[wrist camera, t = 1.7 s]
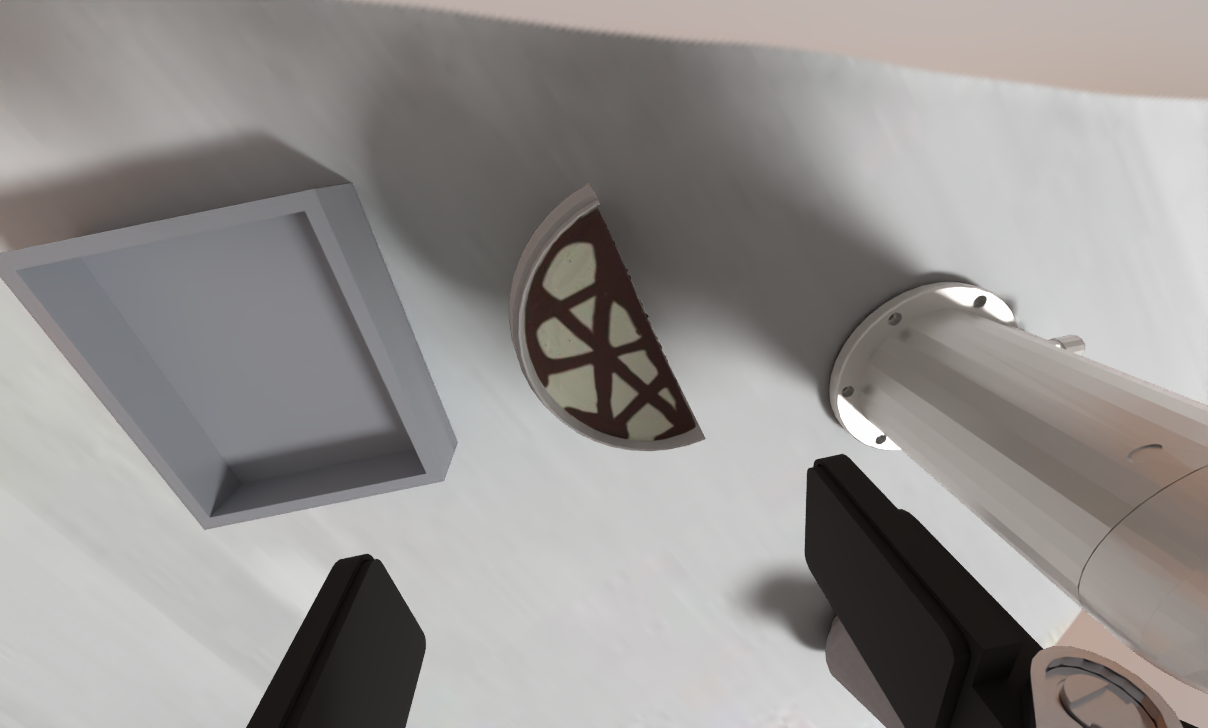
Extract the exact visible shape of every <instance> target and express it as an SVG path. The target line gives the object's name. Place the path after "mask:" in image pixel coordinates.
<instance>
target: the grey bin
mask: <svg viewBox="0 0 1208 728" xmlns="http://www.w3.org/2000/svg"><path fill="white" fill-rule="evenodd" d="M0 277H1V278H2V280H3V281H4V282H5V283H6V285H7V286H8V287H9V288H10V290H11V291H12V292H13V293H14V295H15V296H16V297H17V298H18V300H19V301H20V302H21V303H22V304H23V306H24V307H25V308H26V309H27V311H28V312H29V313H30V314H31V316H32V317H33V318H34V319H35V321H36V322H37V323H38V324H39V326H40V327H41V328H42V329H43V330H44V332H45V333H46V334H47V335H48V337H49V338H50V339H51V340H52V342H53V343H54V344H55V345H56V347H57V348H58V349H59V350H60V352H61V353H62V354H63V355H64V356H65V358H66V359H67V360H68V361H69V363H70V364H71V365H72V366H73V368H74V369H75V370H76V371H77V373H78V374H79V375H80V376H81V378H82V379H83V380H84V381H85V382H86V384H87V385H88V386H89V387H90V389H91V390H92V391H93V392H94V394H95V395H96V396H97V397H98V399H99V400H100V401H101V402H102V404H103V405H104V406H105V407H106V408H107V410H108V411H109V412H110V413H111V415H112V416H113V417H114V418H115V420H116V421H117V422H118V423H119V425H120V426H121V427H122V428H123V430H124V431H125V432H126V433H127V434H128V436H129V437H130V438H131V439H132V441H133V442H134V443H135V444H136V446H137V447H138V448H139V449H140V451H141V452H142V453H143V454H144V455H145V457H146V458H147V459H148V460H149V462H150V463H151V464H152V465H153V467H154V468H155V469H156V470H157V472H158V473H159V474H160V475H161V477H162V478H163V479H164V480H165V481H166V483H167V484H168V485H169V486H170V488H171V489H172V490H173V491H174V493H175V494H176V495H177V496H178V498H179V499H180V500H181V501H182V503H183V504H184V505H185V506H186V507H187V509H188V510H189V511H190V512H191V514H192V515H193V516H194V517H195V519H196V520H197V521H198V522H199V524H200V525H201V526H202V527H203V529H204V530H206V529H211V528H216V527H221V526H226V525H230V524H235V523H240V522H245V521H250V520H255V519H260V518H265V517H270V516H275V515H280V514H285V513H289V512H294V511H299V510H304V509H309V508H314V507H319V506H324V505H329V504H334V503H339V502H344V501H348V500H353V499H358V498H363V497H368V496H373V495H378V494H383V493H388V492H393V491H398V490H403V489H407V488H412V487H417V486H422V485H427V484H432V483H437V482H442V481H444V479H445V477H446V474H447V471H448V468H449V465H450V463H451V460H452V457H453V454H454V451H455V449H456V446H457V443H458V442H457V440H456V437H455V435H454V432H453V430H452V427H451V425H450V422H449V420H448V418H447V415H446V413H445V410H444V408H443V405H442V403H441V400H440V398H439V395H438V393H437V390H436V388H435V386H434V383H433V381H432V378H431V376H430V373H429V371H428V368H427V366H426V363H425V361H424V358H423V356H422V354H421V351H420V349H419V346H418V344H417V341H416V339H415V336H414V334H413V331H412V329H411V326H410V324H409V322H408V319H407V317H406V314H405V312H404V309H403V307H402V304H401V302H400V299H399V297H398V294H397V292H396V290H395V287H394V285H393V282H392V280H391V277H390V275H389V272H388V270H387V267H386V265H385V262H384V260H383V258H382V255H381V253H380V250H379V248H378V245H377V243H376V240H375V238H374V235H373V233H372V230H371V228H370V226H369V223H368V221H367V218H366V216H365V213H364V211H363V208H362V206H361V203H360V201H359V198H358V196H357V194H356V191H355V189H354V186H353V184H352V183H348V184H342V185H335V186H329V187H322V188H316V189H310V190H305V191H301V192H296V193H291V194H286V195H281V196H276V197H271V198H266V199H262V200H257V201H252V202H247V203H242V204H237V205H232V206H227V207H222V208H218V209H213V210H208V211H203V212H198V213H193V214H188V215H183V216H179V217H174V218H169V219H164V220H159V221H154V222H149V223H144V224H139V225H135V226H130V227H125V228H120V229H115V230H110V231H105V232H100V233H96V234H91V235H86V236H81V237H76V238H71V239H66V240H61V241H56V242H52V243H47V244H42V245H37V246H32V247H27V248H22V249H17V250H13V251H8V252H3V253H0Z"/></svg>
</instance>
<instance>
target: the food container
mask: <svg viewBox="0 0 1208 728" xmlns="http://www.w3.org/2000/svg"><path fill="white" fill-rule="evenodd" d="M599 204H600V201H599V200H598V198H597V196H596V194H595V192H594V190H593V188H592V186H591V184H590V183H588V184H586V185H585V186H583V187H582V188H580V189H579V190H577V191H576V192H574V193H572V194H571V195H569V196H568V197H567V198H566V199H565V200H564V201H562V202H561V203H560V204H559V205H558V206H557V207H556V208H554V209H553V210H552V211H551V212H550V213H549V214H548V215H547V217H546V218H545V219H544V220H543V222H542V223H541V224H540V225H539V226H538V228H537V229H536V230H535V231H534V233H533V235H532V236H531V238H530V240H529V242H528V243H527V245H526V247H525V249H524V250H523V252H522V254H521V257H520V260H519V262H518V265H517V268H516V270H515V273H514V276H513V281H512V287H511V292H510V297H509V323H510V329H511V336H512V341H513V344H514V347H515V351H516V354H517V357H518V360H519V363H520V366H521V369H522V372H523V374H524V376H525V377H526V379H527V381H528V383H529V385H530V387H531V389H532V390H533V392H534V393H535V394H536V396H537V397H538V398H539V400H540V401H541V402H542V403H543V405H544V406H545V407H546V408H548V409H549V410H550V411H551V412H552V413H553V414H554V415H555V416H556V417H557V418H558V419H559V420H560V421H562V422H563V423H564V424H566V425H567V426H568V427H570V428H571V429H573V430H574V431H576V432H577V433H579V434H581V435H583V436H585V437H587V438H589V439H591V440H593V441H596V442H599V443H602V444H605V445H608V446H611V447H616V448H621V449H627V450H638V451H656V450H667V449H673V448H677V447H682V446H686V445H690V444H693V443H696V442H699V441H701V440H704V439H705V437H704V435H703V433H702V431H701V429H700V427H699V424H698V422H697V420H696V418H695V416H694V414H693V412H692V410H691V408H690V406H689V404H688V402H687V400H686V398H685V396H684V394H683V392H682V390H681V388H680V386H679V384H678V382H677V380H676V378H675V376H674V374H673V372H672V370H671V368H670V366H669V364H668V360H667V359H666V356H665V355H664V354H663V352H662V347H661V345H660V343H659V342H658V340H657V339H658V338H657V337H656V336H655V334H654V332H653V329H652V327H651V324H650V322H649V321H648V315H647V314H646V313H645V312H644V308H643V306H642V303H641V301H640V299H639V298H638V296H637V294H636V292H635V289H634V287H633V285H632V283H631V277H630V275H628V273H627V271H628V270H627V269H626V268H625V266H624V264H623V262H622V260H621V258H620V255H619V253H618V251H617V249H616V246H615V242H614V241H613V240H612V238H611V235H610V233H609V231H608V229H607V226H606V224H605V222H604V220H603V218H602V216H601V214H600V212H599V210H598V208H597V207H596V206H598V205H599Z"/></svg>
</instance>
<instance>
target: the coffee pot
mask: <svg viewBox="0 0 1208 728" xmlns="http://www.w3.org/2000/svg"><path fill="white" fill-rule="evenodd" d="M825 653H826V662H827V665H828V668H829V670H830V673H831V674H832V676H833V677H835V678H836V679H837V680H838V681H839V682H840V683H841V684H842V685H843V686H844V687H845V688H846V689H847V690H848V691H849V692H850V693H851V694H852V695H853V696H854V697H855V698H856V699H857V700H858V701H859V702H860V703H861V704H863V705H864V706H865V707H866V708H867V709H868V710H869V711H870V712H871V713H872V714H873V715H874V716H875V717H876V718H877V719H878V720H879V721H880V722H881V723H882V724H883V725H884V726H885V727H886V728H905V727H904V726H903V724H902V722H901V721H900V719H899V717H898V716H897V714H896V712H895V711H894V709H893V707H892V706H891V704H890V702H889V701H888V699H887V697H886V696H885V694H884V692H883V691H882V689H881V687H880V686H879V684H878V682H877V681H876V679H875V677H874V676H873V674H872V672H871V671H870V669H869V667H868V666H867V664H866V662H865V661H864V659H863V657H862V656H861V654H860V653H859V651H858V649H857V648H856V646H855V644H854V643H853V641H852V639H851V638H850V636H849V634H848V633H847V631H846V629H845V628H844V626H843V624H842V623H841V621H840V619H839V618H838V616H837V615H836V617H835V618H834V620H833V622H832V624H831V630H830V632H829V635H828V638H827V642H826V650H825Z"/></svg>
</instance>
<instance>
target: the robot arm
mask: <svg viewBox="0 0 1208 728" xmlns="http://www.w3.org/2000/svg"><path fill="white" fill-rule="evenodd" d="M1084 351H1085V343H1084V342H1083V340H1082V339H1081V338H1080V337H1078V336H1075V335H1068V336H1063V337H1058V338H1053V339H1050V340H1046V339H1043V338H1041V337H1038V336H1036V335H1033V334H1030V333H1028V332H1025V331H1023V330H1020V329H1018V328H1017V322H1016V320H1015V318H1014V315H1013V313H1012V311H1011V309H1010V308H1009V307H1008V306H1007V304H1006V303H1005V302H1004V301H1003V299H1001V298H1000V297H998V296H997V295H995V294H994V293H992V292H991V291H988V290H985V289H982V288H980V287H977V286H974V285H970V284H965V283H960V282H938V283H933V284H928V285H923V286H920V287H917V288H914V289H912V290H909V291H906V292H904V293H902V294H900V295H898V296H896V297H895V298H893V299H891V300H889V301H888V302H886V303H884V304H883V305H882V306H880V307H879V308H878V309H876V310H875V311H874V312H873V313H871V314H870V315H869V316H868V317H867V318H866V319H865V320H864V321H863V322H862V323H861V324H860V325H859V326H858V327H857V328H856V329H855V330H854V332H853V333H852V334H851V336H850V337H849V338H848V340H847V341H846V343H845V344H844V345H843V347H842V349H841V351H840V353H839V355H838V357H837V359H836V361H835V365H834V368H833V371H832V374H831V379H830V389H829V393H830V402H831V407H832V409H833V412H834V414H835V417H836V418H837V420H838V421H839V423H840V424H841V425H842V427H843V428H844V429H845V430H847V431H848V432H849V433H850V434H851V435H852V436H853V437H854V438H855V439H857V440H859V441H860V442H862V443H863V444H865V445H868V446H871V447H874V448H878V449H886V450H902V451H903V452H905V453H906V454H907V455H908V456H909V457H910V458H911V459H913V460H914V461H915V462H916V463H917V464H918V465H919V466H920V467H922V468H923V469H924V470H925V471H926V472H927V473H928V474H930V475H931V476H932V477H933V478H934V479H935V480H936V481H938V482H939V483H940V484H941V485H942V486H943V487H944V488H946V489H947V490H948V491H949V492H950V493H951V494H952V495H954V496H955V497H956V498H957V499H958V500H959V501H960V502H961V503H963V504H964V505H965V506H966V507H967V508H968V509H969V510H971V511H972V512H973V513H974V514H975V515H976V516H977V517H979V518H980V519H981V520H982V521H983V522H984V523H985V524H987V525H988V526H989V527H990V528H991V529H992V530H993V531H994V532H996V533H997V534H998V535H999V536H1000V537H1001V538H1002V539H1004V540H1005V541H1006V542H1007V543H1008V544H1009V545H1010V546H1012V547H1013V548H1014V549H1015V550H1016V551H1017V552H1018V553H1020V554H1021V555H1022V556H1023V557H1024V558H1025V559H1026V560H1027V561H1029V562H1030V563H1031V564H1032V565H1033V566H1034V567H1035V568H1037V569H1038V570H1039V571H1040V572H1041V573H1042V574H1043V575H1045V576H1046V577H1047V578H1048V579H1049V580H1050V581H1051V582H1053V583H1054V584H1055V585H1056V586H1057V587H1058V588H1059V589H1060V590H1062V591H1063V592H1064V593H1065V594H1066V595H1067V596H1068V597H1070V598H1071V599H1072V600H1073V601H1074V602H1075V603H1076V604H1078V605H1079V606H1080V607H1081V608H1082V609H1083V610H1084V611H1086V612H1087V613H1089V614H1090V615H1091V616H1092V617H1093V618H1094V619H1095V620H1096V621H1098V622H1099V623H1100V624H1101V625H1102V626H1103V627H1105V628H1106V629H1107V630H1108V631H1109V632H1110V633H1111V634H1113V635H1114V636H1115V637H1116V638H1117V639H1118V640H1120V641H1121V642H1122V643H1123V644H1125V645H1126V646H1127V647H1128V648H1130V649H1131V650H1132V651H1133V652H1135V653H1136V654H1137V655H1139V656H1140V657H1142V658H1143V659H1145V660H1146V661H1148V662H1149V663H1151V664H1152V665H1153V666H1155V667H1157V668H1158V669H1160V670H1161V671H1163V672H1165V673H1167V674H1168V675H1170V676H1172V677H1174V678H1175V679H1177V680H1179V681H1181V682H1183V683H1185V684H1187V685H1189V686H1191V687H1193V688H1195V689H1198V690H1200V691H1202V692H1204V693H1206V694H1208V406H1207V405H1205V404H1202V403H1200V402H1197V401H1194V400H1192V399H1189V398H1187V397H1184V396H1182V395H1179V394H1177V393H1174V392H1172V391H1169V390H1167V389H1164V388H1161V387H1159V386H1156V385H1154V384H1151V383H1149V382H1146V381H1144V380H1141V379H1139V378H1136V377H1134V376H1131V375H1128V374H1126V373H1123V372H1121V371H1118V370H1116V369H1113V368H1111V367H1108V366H1106V365H1103V364H1101V363H1098V362H1096V361H1093V360H1090V359H1088V358H1085V357H1083V356H1080V355H1081V354H1082V353H1083V352H1084ZM805 558H806V562H807V565H808V567H809V569H810V571H811V573H812V574H813V576H814V578H815V579H816V581H817V583H818V584H819V586H820V588H821V589H822V591H823V593H824V594H825V596H826V598H827V599H828V601H829V603H830V604H831V606H832V608H833V609H834V611H835V613H836V614H837V616H838V618H839V619H840V621H841V623H842V624H843V626H844V628H845V629H846V631H847V633H848V634H849V636H850V638H851V639H852V641H853V643H854V644H855V646H856V648H857V649H858V651H859V653H860V654H861V656H862V657H863V659H864V661H865V662H866V664H867V666H868V667H869V669H870V671H871V672H872V674H873V676H874V677H875V679H876V681H877V682H878V684H879V686H880V687H881V689H882V691H883V692H884V694H885V696H886V697H887V699H888V701H889V702H890V704H891V706H892V707H893V709H894V711H895V712H896V714H897V716H898V717H899V719H900V721H901V722H902V724H903V726H904V727H905V728H1198V727H1195V726H1193V725H1191V724H1188V723H1186V722H1184V721H1181V720H1179V719H1178V717H1177V715H1176V713H1175V712H1174V711H1173V709H1172V708H1171V707H1170V706H1169V705H1168V704H1167V702H1166V701H1165V700H1164V699H1163V698H1162V697H1161V696H1160V695H1159V693H1158V692H1156V691H1155V690H1154V689H1153V688H1152V687H1150V686H1149V685H1148V684H1147V683H1146V682H1144V681H1143V680H1142V679H1141V678H1140V677H1138V676H1137V675H1135V674H1134V673H1132V672H1130V671H1129V670H1127V669H1125V668H1124V667H1122V666H1121V665H1119V664H1117V663H1116V662H1114V661H1112V660H1109V659H1107V658H1105V657H1102V656H1100V655H1098V654H1096V653H1093V652H1090V651H1086V650H1082V649H1078V648H1074V647H1065V646H1052V647H1049V648H1046V649H1043V648H1042V647H1041V646H1040V645H1039V644H1038V643H1037V642H1036V641H1035V640H1034V639H1033V638H1032V637H1031V636H1030V635H1029V634H1028V633H1027V632H1026V631H1025V630H1024V629H1023V628H1022V627H1021V626H1020V625H1019V624H1018V623H1017V622H1016V621H1015V620H1014V618H1013V617H1012V616H1011V615H1010V614H1009V613H1008V612H1007V611H1006V610H1005V609H1004V608H1003V607H1002V606H1001V605H1000V604H999V603H998V602H997V601H996V600H995V599H994V598H993V597H992V596H991V595H990V594H989V593H988V592H987V591H986V590H985V589H984V588H983V587H982V586H981V585H980V584H979V583H978V582H977V581H976V579H975V578H974V577H973V576H972V575H971V574H970V573H969V572H968V571H967V570H966V569H965V568H964V567H963V566H962V565H961V564H960V563H959V562H958V561H957V560H956V559H955V558H954V557H953V556H952V555H951V554H950V553H949V552H948V551H947V550H946V549H945V548H944V547H943V546H942V545H941V544H940V543H939V541H938V540H937V539H936V538H935V537H934V536H933V535H932V534H931V533H930V532H929V531H928V530H927V529H926V528H925V527H924V526H923V525H922V524H921V523H920V522H919V521H918V520H917V519H916V518H915V517H914V516H913V515H911V514H910V513H909V512H907V511H905V510H903V509H897V508H896V507H895V506H894V505H893V504H892V502H891V501H890V500H889V499H888V498H887V497H886V496H885V495H884V494H883V493H882V492H881V491H880V490H879V489H878V488H877V487H876V486H875V485H874V483H873V482H872V481H871V480H870V479H869V478H868V477H867V476H866V475H865V474H864V473H863V472H862V471H861V470H860V469H859V468H858V467H857V466H856V465H855V463H854V462H853V461H852V460H851V459H850V458H849V457H847V456H846V455H844V454H840V455H835V456H831V457H826V458H821V459H817V460H815V462H814V466H813V467H812V468H809V469H808V470H807V492H806V525H805ZM425 649H426V639H425V635H424V633H423V631H422V629H421V628H420V626H419V624H418V623H417V621H416V619H415V618H414V616H413V614H412V612H411V611H410V609H409V607H408V606H407V604H406V602H405V601H404V599H403V597H402V596H401V594H400V592H399V591H398V589H397V587H396V585H395V584H394V582H393V580H392V579H391V577H390V575H389V574H388V572H387V570H386V569H385V567H384V565H383V564H382V562H381V561H380V560H379V559H374V558H373V557H372V556H371V555H369V554H364V555H359V556H354V557H350V558H345V559H340V560H338V561H337V562H336V563H335V564H334V566H333V567H332V569H331V571H330V573H329V575H328V577H327V578H326V580H325V582H324V584H323V586H322V588H321V590H320V591H319V593H318V595H317V597H316V599H315V601H314V603H313V604H312V606H311V608H310V610H309V612H308V614H307V616H306V617H305V619H304V621H303V623H302V625H301V627H300V629H299V631H298V632H297V634H296V636H295V638H294V640H293V642H292V644H291V645H290V647H289V649H288V651H287V653H286V655H285V657H284V658H283V660H282V662H281V664H280V666H279V668H278V670H277V671H276V673H275V675H274V677H273V679H272V681H271V683H270V684H269V686H268V688H267V690H266V692H265V694H264V696H263V697H262V699H261V701H260V703H259V705H258V707H257V709H256V711H255V712H254V714H253V716H252V718H251V720H250V722H249V724H248V725H247V727H246V728H405V727H406V723H407V719H408V715H409V711H410V708H411V704H412V700H413V696H414V692H415V689H416V685H417V681H418V677H419V673H420V670H421V666H422V662H423V658H424V654H425Z"/></svg>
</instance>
